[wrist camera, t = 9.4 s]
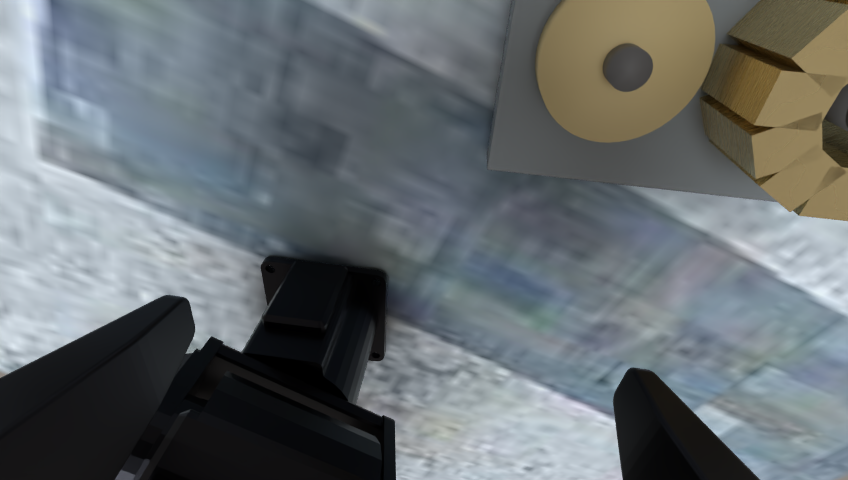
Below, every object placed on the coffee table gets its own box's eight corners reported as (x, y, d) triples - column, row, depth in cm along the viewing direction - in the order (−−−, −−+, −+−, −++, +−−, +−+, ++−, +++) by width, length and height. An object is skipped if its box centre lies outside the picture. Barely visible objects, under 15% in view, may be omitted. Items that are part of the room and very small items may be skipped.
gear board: (980, 208, 17) (1156, 303, 13) (486, 154, 18) (488, 224, 14) (1237, -71, 12) (1681, -77, 8) (532, -126, 13) (557, -159, 9)
